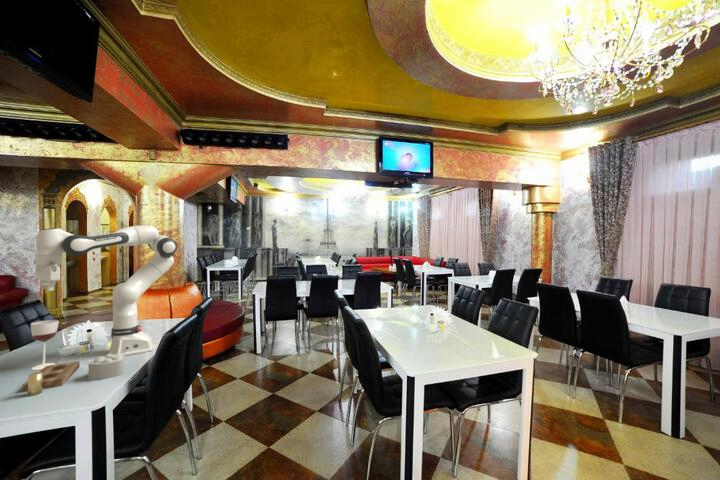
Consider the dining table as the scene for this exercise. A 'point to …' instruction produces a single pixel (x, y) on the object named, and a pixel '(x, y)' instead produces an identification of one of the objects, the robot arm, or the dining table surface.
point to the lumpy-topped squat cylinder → (106, 367)
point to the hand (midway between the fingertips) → (47, 289)
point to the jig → (56, 374)
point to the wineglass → (44, 336)
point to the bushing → (35, 383)
